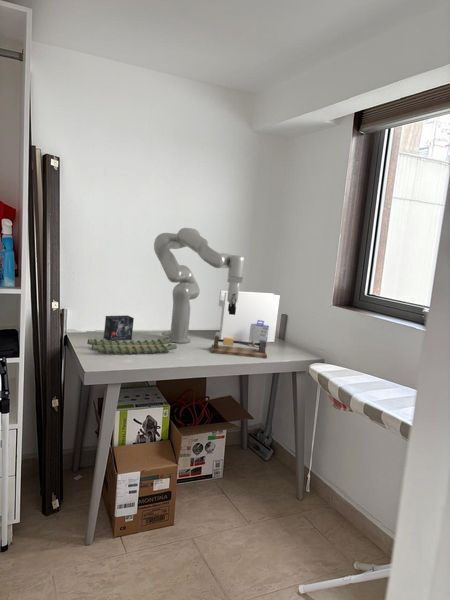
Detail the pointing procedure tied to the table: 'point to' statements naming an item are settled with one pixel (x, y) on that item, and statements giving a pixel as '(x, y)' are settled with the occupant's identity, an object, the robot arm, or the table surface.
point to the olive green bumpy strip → (131, 346)
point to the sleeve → (228, 341)
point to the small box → (118, 328)
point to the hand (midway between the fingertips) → (231, 312)
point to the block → (248, 315)
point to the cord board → (240, 349)
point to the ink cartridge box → (258, 333)
